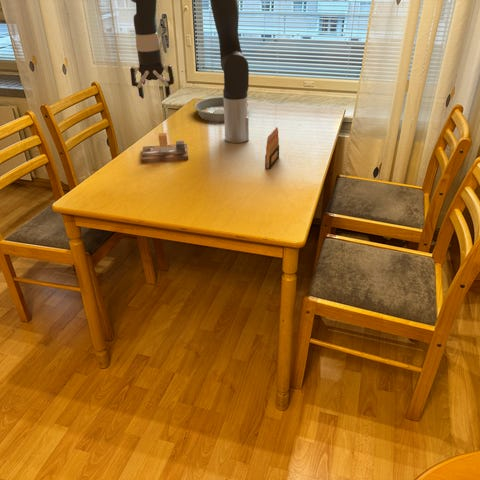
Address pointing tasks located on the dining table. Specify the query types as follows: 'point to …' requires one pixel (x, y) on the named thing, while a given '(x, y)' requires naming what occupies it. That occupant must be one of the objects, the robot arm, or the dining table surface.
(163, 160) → the brown slider base
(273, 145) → the ammunition clip
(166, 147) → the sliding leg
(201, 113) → the cake pan
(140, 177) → the dining table surface
